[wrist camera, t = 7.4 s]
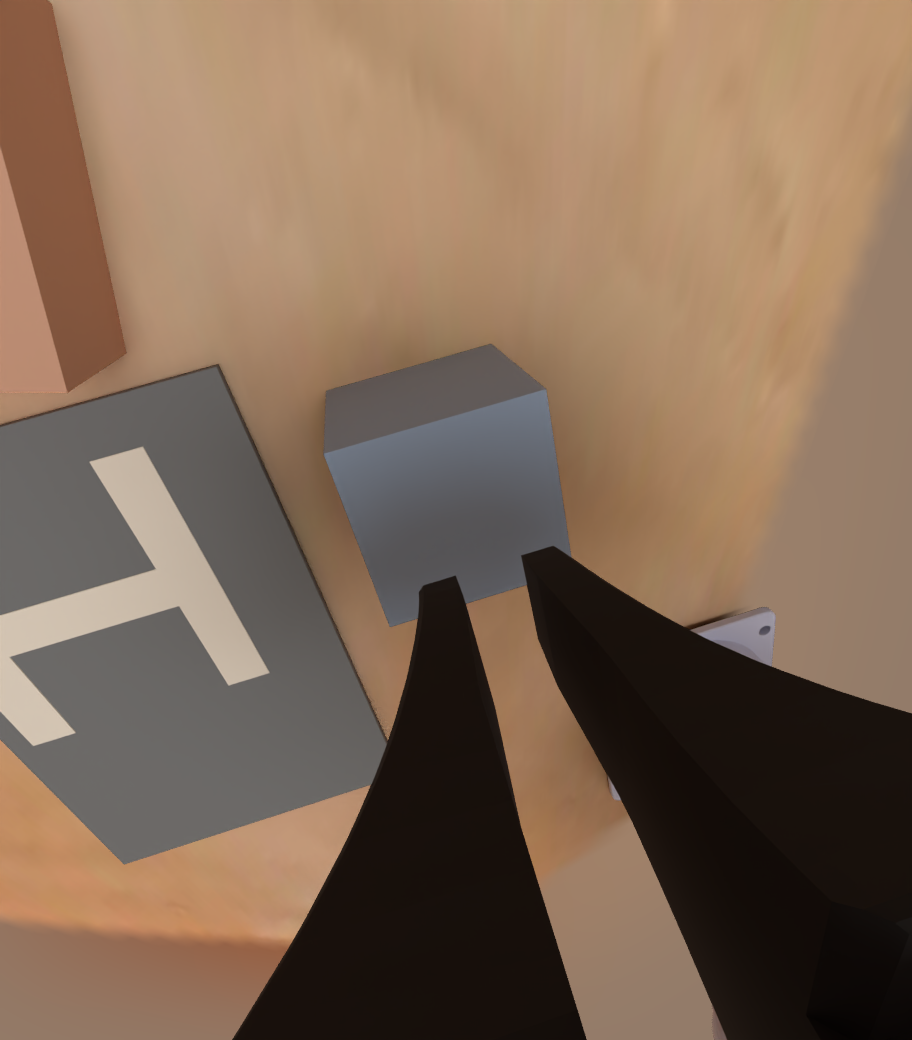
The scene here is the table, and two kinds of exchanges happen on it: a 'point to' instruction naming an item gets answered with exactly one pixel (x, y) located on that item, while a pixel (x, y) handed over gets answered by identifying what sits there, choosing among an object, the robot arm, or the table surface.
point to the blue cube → (446, 475)
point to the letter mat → (166, 624)
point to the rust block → (47, 220)
